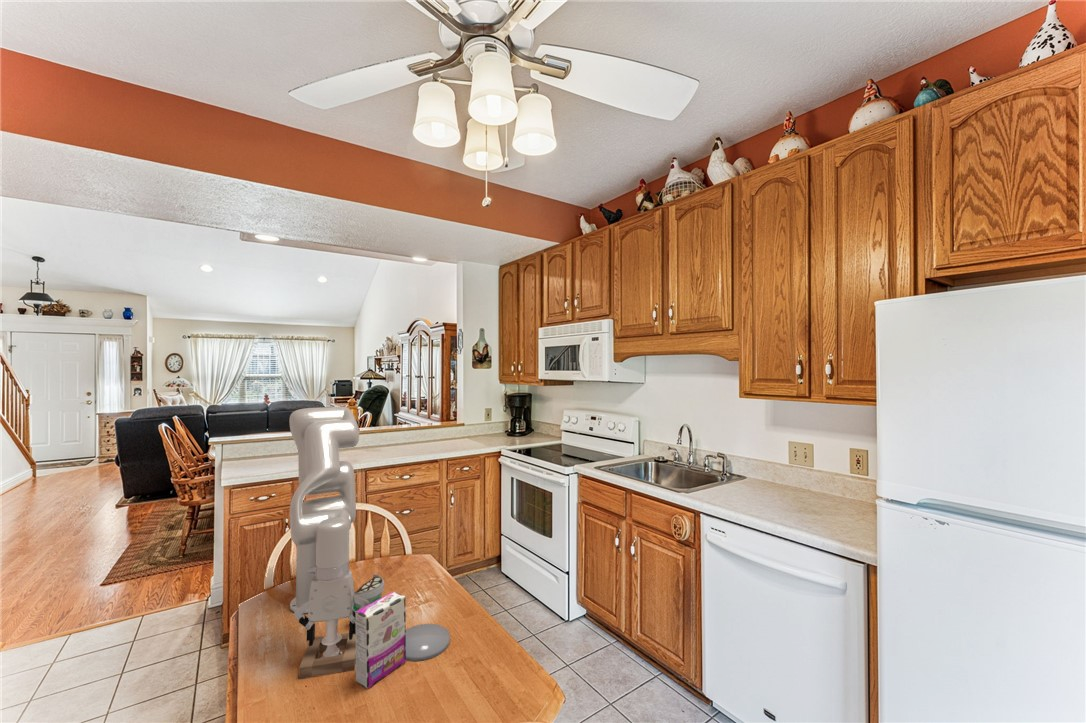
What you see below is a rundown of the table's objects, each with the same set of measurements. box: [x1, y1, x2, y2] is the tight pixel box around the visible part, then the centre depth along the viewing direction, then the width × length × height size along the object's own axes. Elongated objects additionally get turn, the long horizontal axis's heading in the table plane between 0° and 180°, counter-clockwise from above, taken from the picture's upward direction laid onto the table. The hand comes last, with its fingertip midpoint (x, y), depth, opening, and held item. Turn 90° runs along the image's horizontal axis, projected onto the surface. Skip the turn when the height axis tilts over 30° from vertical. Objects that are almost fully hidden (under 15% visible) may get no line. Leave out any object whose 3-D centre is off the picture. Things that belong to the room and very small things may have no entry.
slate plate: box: [406, 623, 451, 662], centre depth 117 cm, size 14×14×1 cm
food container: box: [353, 573, 385, 611], centre depth 129 cm, size 12×6×10 cm, turn 168°
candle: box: [320, 619, 344, 658], centre depth 111 cm, size 5×5×12 cm
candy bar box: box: [355, 591, 407, 690], centre depth 106 cm, size 11×5×16 cm, turn 148°
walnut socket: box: [298, 632, 356, 680], centre depth 111 cm, size 12×12×2 cm
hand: (331, 639), depth 111 cm, fingers open, 8 cm apart
